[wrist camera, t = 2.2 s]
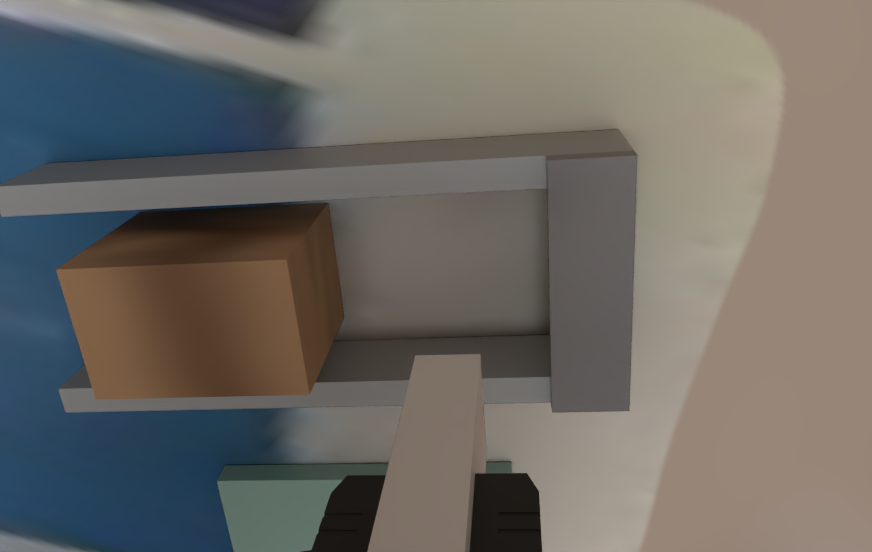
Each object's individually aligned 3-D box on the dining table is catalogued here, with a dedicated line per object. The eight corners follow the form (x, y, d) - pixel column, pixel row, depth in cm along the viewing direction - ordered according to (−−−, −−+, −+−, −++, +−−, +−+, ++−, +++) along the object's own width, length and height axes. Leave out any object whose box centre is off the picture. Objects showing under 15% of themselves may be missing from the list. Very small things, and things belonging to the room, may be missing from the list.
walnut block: (168, 321, 28) (95, 399, 23) (141, 211, 26) (55, 269, 21) (344, 315, 27) (309, 394, 22) (328, 201, 25) (286, 259, 20)
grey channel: (107, 370, 29) (56, 421, 26) (46, 163, 26) (-21, 192, 22) (613, 356, 27) (629, 411, 24) (618, 129, 24) (637, 155, 20)
